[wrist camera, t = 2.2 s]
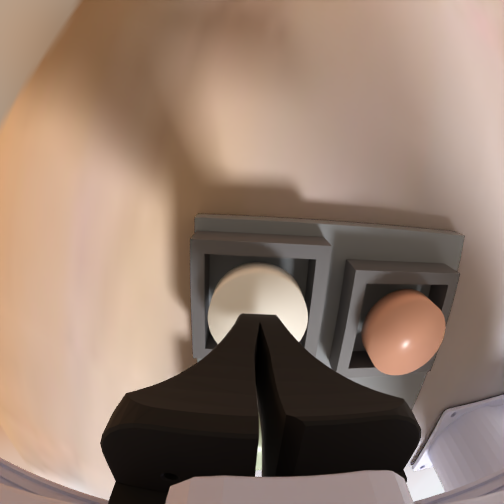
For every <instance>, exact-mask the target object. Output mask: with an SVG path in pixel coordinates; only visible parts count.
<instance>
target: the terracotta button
mask: <svg viewBox="0 0 504 504" xmlns="http://www.w3.org/2000/svg"><path fill="white" fill-rule="evenodd" d="M444 334H445V318H444V315H443V313H442V311H441V310H440V309H439V308H438V307H437V306H436V305H435V304H434V303H433V302H432V301H431V300H430V299H429V298H427V297H426V296H425V295H424V294H423V293H421V292H419V291H417V290H414V289H401V290H397V291H394V292H391V293H389V294H387V295H386V296H384V297H383V298H381V299H380V300H379V301H378V302H377V303H376V304H375V305H374V306H373V307H372V308H371V309H370V311H369V312H368V314H367V316H366V317H365V320H364V322H363V326H362V331H361V338H362V343H363V346H364V348H365V349H366V351H367V353H368V355H369V357H370V359H371V361H372V363H373V364H374V366H375V367H376V368H377V369H378V370H379V371H381V372H382V373H385V374H388V375H403V374H407V373H410V372H412V371H415V370H417V369H418V368H420V367H421V366H423V365H424V364H425V363H427V362H428V361H429V360H430V359H431V358H432V357H433V356H434V354H435V353H436V352H437V350H438V349H439V347H440V345H441V343H442V340H443V338H444Z"/></svg>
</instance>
